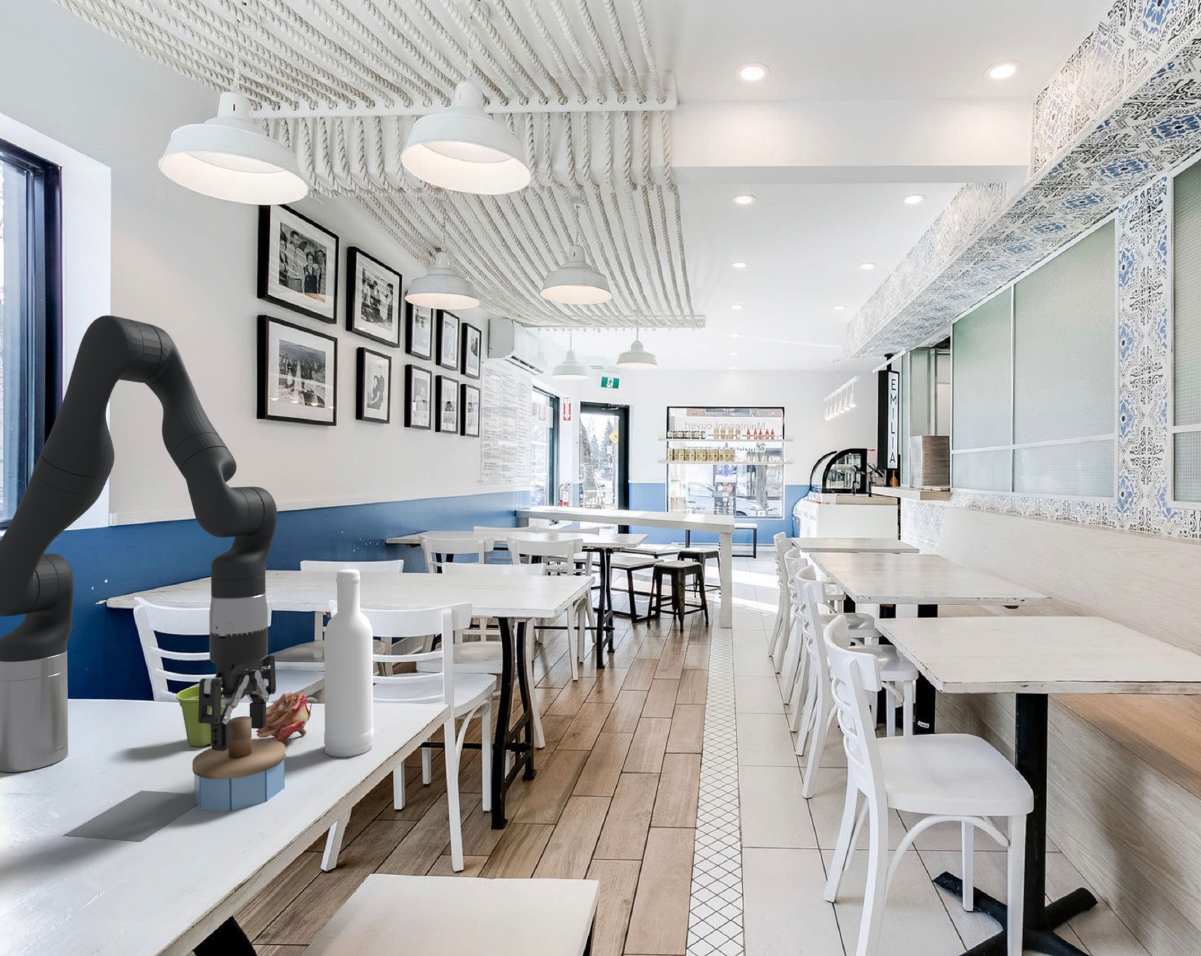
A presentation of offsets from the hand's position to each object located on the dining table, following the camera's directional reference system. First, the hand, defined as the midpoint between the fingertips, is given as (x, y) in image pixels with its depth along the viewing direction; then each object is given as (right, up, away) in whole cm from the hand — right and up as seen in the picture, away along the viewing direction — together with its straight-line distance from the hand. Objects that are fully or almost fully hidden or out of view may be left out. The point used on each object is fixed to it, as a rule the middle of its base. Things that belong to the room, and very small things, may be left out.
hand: (239, 738), depth 105 cm
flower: (-3, -8, +22) cm, 23 cm away
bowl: (0, -8, 0) cm, 8 cm away
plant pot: (-16, -8, +22) cm, 28 cm away
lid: (0, -3, 0) cm, 3 cm away
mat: (-10, -8, -7) cm, 15 cm away
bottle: (+10, -8, +18) cm, 22 cm away
